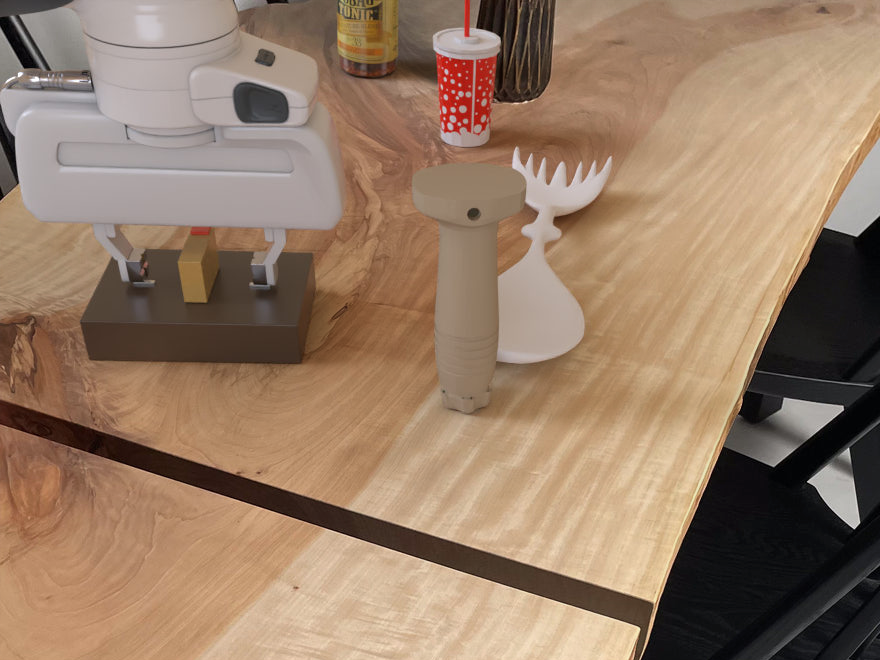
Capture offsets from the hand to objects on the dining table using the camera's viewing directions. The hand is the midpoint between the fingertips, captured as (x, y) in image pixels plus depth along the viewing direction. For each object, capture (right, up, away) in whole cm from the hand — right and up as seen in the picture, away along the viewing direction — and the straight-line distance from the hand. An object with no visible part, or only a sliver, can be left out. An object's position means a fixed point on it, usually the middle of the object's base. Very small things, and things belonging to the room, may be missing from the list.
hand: (201, 279), depth 75 cm
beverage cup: (+17, +19, +29) cm, 39 cm away
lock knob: (0, 0, 0) cm, 0 cm away
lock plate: (0, -3, +2) cm, 3 cm away
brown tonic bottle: (+6, +31, +41) cm, 52 cm away
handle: (+18, -9, -3) cm, 21 cm away
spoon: (+23, +3, +10) cm, 25 cm away
